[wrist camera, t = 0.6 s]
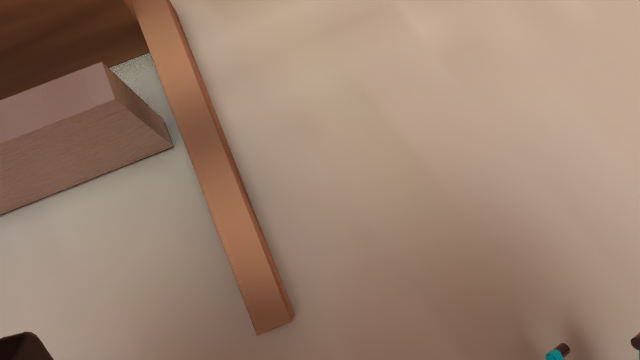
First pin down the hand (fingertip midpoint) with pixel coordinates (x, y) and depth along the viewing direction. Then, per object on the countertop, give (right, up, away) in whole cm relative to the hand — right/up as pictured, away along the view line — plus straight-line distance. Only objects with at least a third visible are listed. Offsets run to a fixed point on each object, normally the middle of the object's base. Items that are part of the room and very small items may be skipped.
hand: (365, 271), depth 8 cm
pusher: (-11, +2, +14) cm, 18 cm away
